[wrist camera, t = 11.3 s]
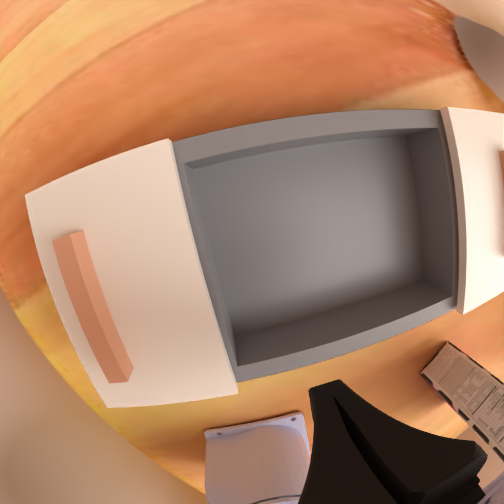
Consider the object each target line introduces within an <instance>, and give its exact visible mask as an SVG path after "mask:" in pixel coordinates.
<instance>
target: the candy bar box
mask: <svg viewBox="0 0 504 504" xmlns="http://www.w3.org/2000/svg"><path fill="white" fill-rule="evenodd" d="M420 375H421V376H422V377H423V378H424V379H425V380H426V381H427V382H428V383H429V384H430V385H431V386H432V388H433V389H434V390H435V391H436V392H437V393H438V394H439V395H440V396H441V397H442V398H443V399H444V400H445V401H446V402H447V403H448V404H449V405H450V406H451V407H452V408H453V409H454V411H455V412H456V413H457V414H458V415H459V416H460V417H461V418H462V419H463V420H464V421H465V422H466V423H467V424H468V425H469V426H470V427H471V428H472V430H473V431H474V432H475V433H476V434H477V435H478V436H479V437H480V438H481V439H482V440H483V441H484V442H485V443H486V444H487V446H488V447H489V448H490V449H491V450H492V451H493V452H494V453H495V454H496V455H497V456H498V457H499V459H500V460H501V461H502V462H503V463H504V383H503V382H501V381H500V380H499V379H498V378H496V377H495V376H494V375H492V374H491V373H490V372H489V371H487V370H486V369H485V368H483V367H482V366H481V365H480V364H478V363H477V362H476V361H474V360H473V359H472V358H470V357H469V356H468V355H466V354H465V353H464V352H462V351H461V350H460V349H458V348H457V347H456V346H454V345H453V344H452V343H450V342H449V341H447V342H446V343H445V344H444V345H443V346H442V348H441V349H440V350H439V351H438V353H437V354H436V355H435V356H434V357H433V359H432V360H431V361H430V362H429V363H428V364H427V365H426V367H425V368H424V369H423V370H422V371H421V372H420Z"/></svg>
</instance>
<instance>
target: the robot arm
mask: <svg viewBox="0 0 504 504" xmlns="http://www.w3.org/2000/svg"><path fill="white" fill-rule="evenodd" d="M309 397H310V404H311V411H312V417H313V421H314V436H313V447H312V454H311V460H310V457H309V456H310V449H309V443H308V437H307V432H306V426H305V420H304V415H303V413H302V412H296V413H292V414H288V415H284V416H280V417H276V418H271V419H267V420H262V421H257V422H252V423H247V424H242V425H236V426H230V427H224V428H217V429H209V430H206V431H204V436H205V438H206V459H205V492H206V498H207V503H208V504H504V472H503V473H502V474H500V475H499V476H498V477H497V478H496V479H495V480H493V481H492V482H491V483H490V484H489V485H487V486H486V487H485V488H483V489H481V487H480V486H479V485H478V483H479V482H480V479H479V478H478V477H477V474H478V472H479V471H480V469H481V468H482V467H483V465H484V464H485V462H486V460H487V456H488V455H487V454H486V453H485V451H484V450H483V449H482V448H481V447H480V446H479V445H478V444H477V443H476V442H474V441H469V440H459V439H452V438H447V437H442V436H438V435H434V434H431V433H428V432H424V431H421V430H418V429H416V428H413V427H411V426H408V425H406V424H404V423H402V422H400V421H398V420H396V419H394V418H392V417H390V416H388V415H387V414H385V413H383V412H382V411H380V410H378V409H377V408H375V407H374V406H373V405H371V404H370V403H368V402H367V401H365V400H364V399H363V398H361V397H360V396H359V395H358V394H356V393H355V392H354V391H353V390H351V389H350V388H349V387H348V386H347V385H346V384H345V383H343V382H342V381H341V380H339V379H338V380H335V381H332V382H329V383H326V384H322V385H319V386H316V387H312V388H310V389H309ZM294 417H295V418H294ZM218 432H220V433H218Z"/></svg>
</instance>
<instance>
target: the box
mask: <svg viewBox="0 0 504 504" xmlns="http://www.w3.org/2000/svg"><path fill="white" fill-rule="evenodd" d="M172 146H173V151H174V156H175V160H176V165H177V169H178V174H179V178H180V183H181V187H182V192H183V196H184V200H185V204H186V208H187V213H188V217H189V221H190V225H191V229H192V233H193V237H194V240H195V244H196V248H197V252H198V256H199V259H200V263H201V267H202V271H203V274H204V278H205V281H206V285H207V288H208V292H209V295H210V299H211V302H212V306H213V309H214V313H215V316H216V319H217V323H218V326H219V329H220V332H221V336H222V339H223V342H224V345H225V348H226V352H227V355H228V358H229V361H230V364H231V367H232V370H233V373H234V376H235V379H236V382H242V381H247V380H251V379H256V378H260V377H265V376H269V375H273V374H277V373H281V372H285V371H289V370H293V369H297V368H300V367H304V366H308V365H311V364H315V363H318V362H321V361H325V360H328V359H331V358H334V357H337V356H341V355H344V354H347V353H350V352H353V351H355V350H358V349H361V348H364V347H367V346H370V345H372V344H375V343H378V342H380V341H383V340H386V339H388V338H391V337H393V336H396V335H398V334H401V333H403V332H406V331H408V330H410V329H413V328H415V327H417V326H420V325H422V324H424V323H426V322H429V321H431V320H433V319H435V318H437V317H439V316H441V315H444V314H446V313H448V312H450V311H452V310H454V309H456V308H457V299H458V282H459V230H458V213H457V202H456V192H455V183H454V176H453V169H452V163H451V157H450V151H449V146H448V141H447V136H446V132H445V127H444V123H443V119H442V115H441V111H440V110H423V109H384V110H360V111H345V112H332V113H322V114H313V115H304V116H297V117H289V118H283V119H276V120H270V121H264V122H258V123H253V124H247V125H242V126H237V127H232V128H228V129H223V130H218V131H214V132H210V133H206V134H201V135H197V136H193V137H190V138H186V139H182V140H178V141H175V142H172Z"/></svg>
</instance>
